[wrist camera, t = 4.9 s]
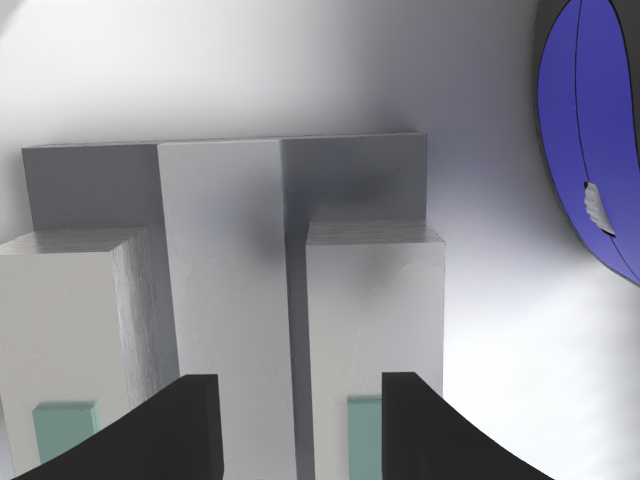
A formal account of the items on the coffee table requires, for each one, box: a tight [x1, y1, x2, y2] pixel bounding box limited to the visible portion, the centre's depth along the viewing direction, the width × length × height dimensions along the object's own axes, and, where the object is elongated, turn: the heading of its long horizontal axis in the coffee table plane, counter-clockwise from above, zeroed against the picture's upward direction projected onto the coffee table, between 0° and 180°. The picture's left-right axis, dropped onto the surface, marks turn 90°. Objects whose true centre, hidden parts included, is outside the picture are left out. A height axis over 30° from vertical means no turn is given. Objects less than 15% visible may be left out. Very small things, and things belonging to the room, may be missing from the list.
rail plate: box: [0, 132, 445, 480], centre depth 18 cm, size 13×12×5 cm
